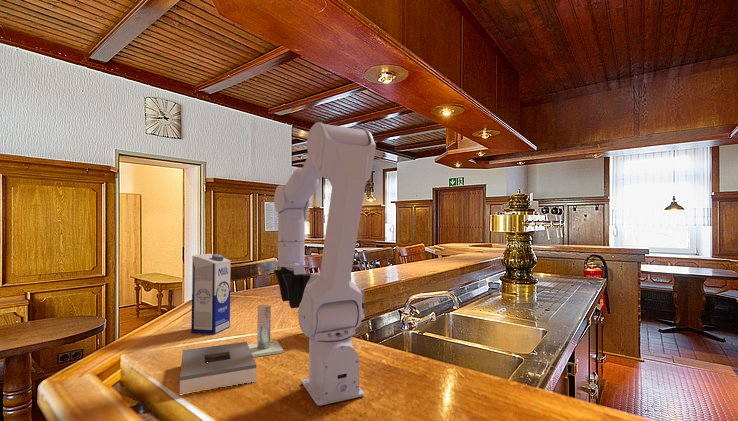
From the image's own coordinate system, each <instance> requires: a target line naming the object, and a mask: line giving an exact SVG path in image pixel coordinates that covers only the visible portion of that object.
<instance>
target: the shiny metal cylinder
mask: <svg viewBox="0 0 738 421" xmlns="http://www.w3.org/2000/svg"><path fill="white" fill-rule="evenodd" d="M271 313H272V305H270V304H260V305H257V320H256V321H257V323H256V324H257V325H256V326H257V329H256V330H257V332H256V333H257V335H256V336H257V340H256V341H257V342H256V343H257V349H260V350H264V349H268V348H270V342H271V336H272V335H271V334H272V333H271V330H272V329H271V325H272V324H271V319H272V318H271V317H272V316H271V315H272V314H271Z"/></svg>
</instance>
